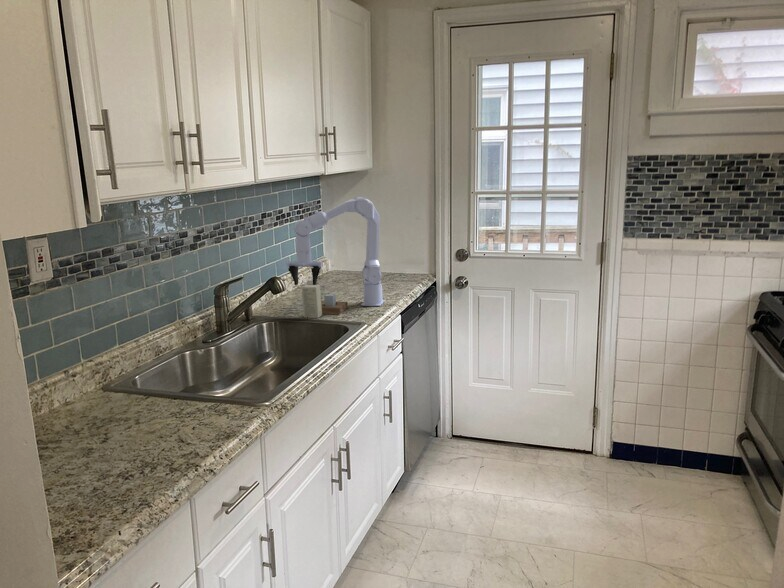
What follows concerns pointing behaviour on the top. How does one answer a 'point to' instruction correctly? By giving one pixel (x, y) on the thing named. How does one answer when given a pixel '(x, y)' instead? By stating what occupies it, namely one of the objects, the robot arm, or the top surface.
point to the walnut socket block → (334, 308)
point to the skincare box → (311, 301)
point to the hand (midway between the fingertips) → (305, 284)
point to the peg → (330, 299)
